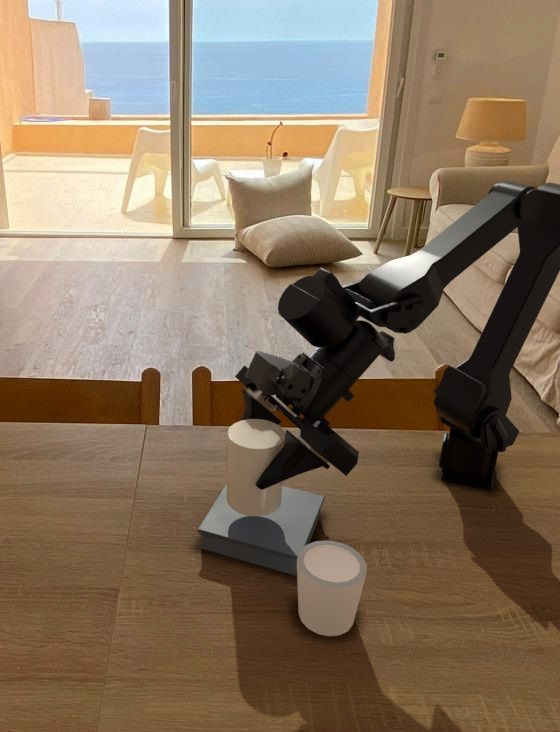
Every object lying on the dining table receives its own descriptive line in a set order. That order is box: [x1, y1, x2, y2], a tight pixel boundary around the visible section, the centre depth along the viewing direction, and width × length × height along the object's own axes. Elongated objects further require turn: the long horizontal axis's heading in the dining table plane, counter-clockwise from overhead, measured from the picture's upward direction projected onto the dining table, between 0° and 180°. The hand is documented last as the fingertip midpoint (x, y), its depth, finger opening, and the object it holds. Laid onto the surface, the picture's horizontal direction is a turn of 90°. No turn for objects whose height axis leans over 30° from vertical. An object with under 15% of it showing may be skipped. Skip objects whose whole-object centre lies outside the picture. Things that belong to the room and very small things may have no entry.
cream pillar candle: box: [226, 419, 286, 516], centre depth 79 cm, size 6×6×9 cm
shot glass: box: [296, 540, 368, 637], centre depth 70 cm, size 7×7×7 cm
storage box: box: [197, 483, 326, 577], centre depth 83 cm, size 12×12×3 cm
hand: (244, 471), depth 79 cm, fingers closed on cream pillar candle, 6 cm apart
